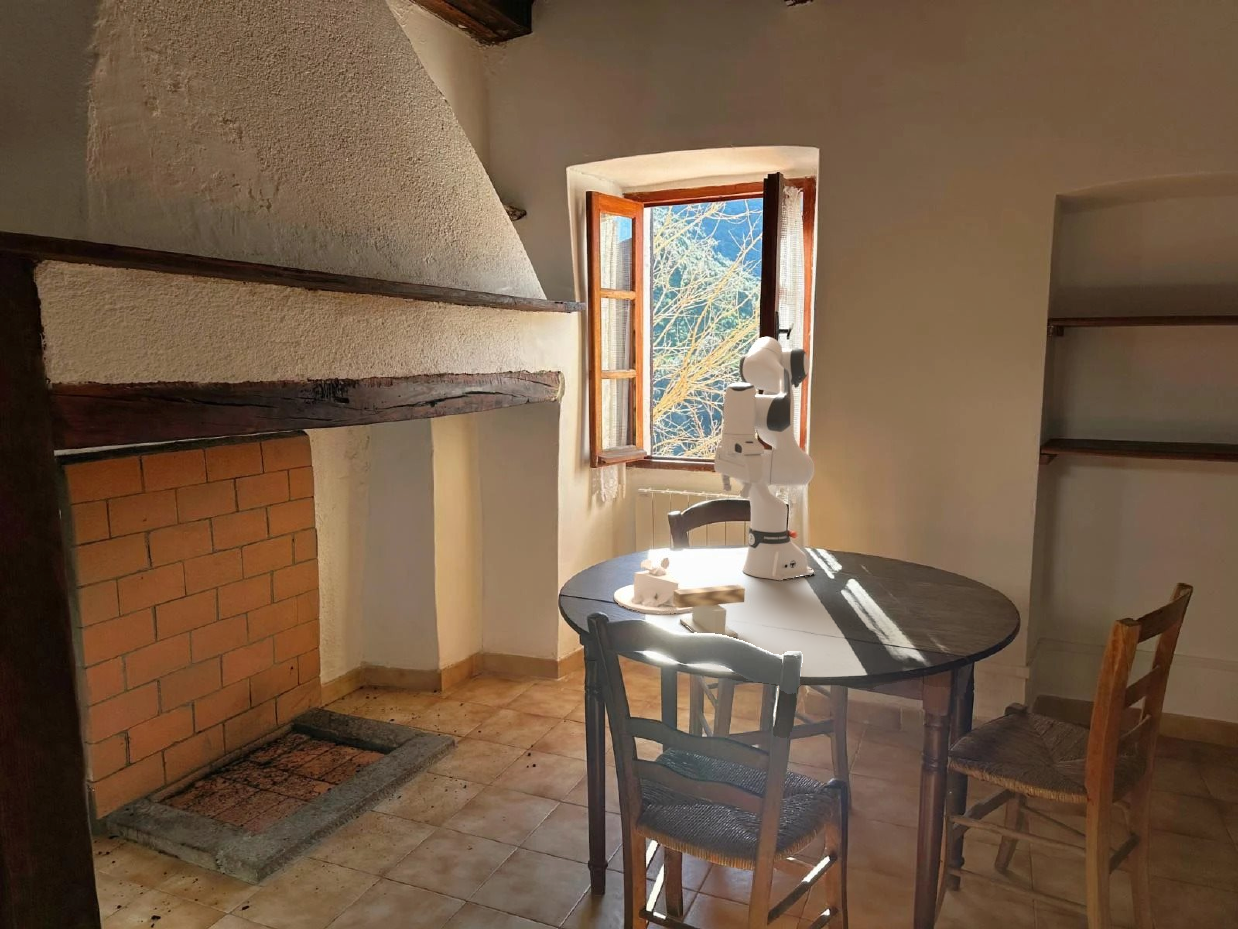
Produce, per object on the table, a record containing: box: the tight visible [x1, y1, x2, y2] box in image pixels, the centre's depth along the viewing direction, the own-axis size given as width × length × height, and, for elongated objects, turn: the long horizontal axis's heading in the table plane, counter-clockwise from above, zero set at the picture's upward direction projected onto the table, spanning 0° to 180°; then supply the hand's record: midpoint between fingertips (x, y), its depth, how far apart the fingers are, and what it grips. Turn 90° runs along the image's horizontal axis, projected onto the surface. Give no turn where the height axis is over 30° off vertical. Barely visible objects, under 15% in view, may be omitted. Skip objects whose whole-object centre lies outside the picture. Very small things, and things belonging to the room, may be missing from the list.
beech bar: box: [673, 584, 746, 608], centre depth 205 cm, size 18×4×4 cm, turn 111°
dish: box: [613, 557, 693, 615], centre depth 229 cm, size 25×25×11 cm
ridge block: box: [679, 604, 739, 639], centre depth 206 cm, size 9×14×7 cm, turn 21°
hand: (735, 494), depth 224 cm, fingers open, 8 cm apart
